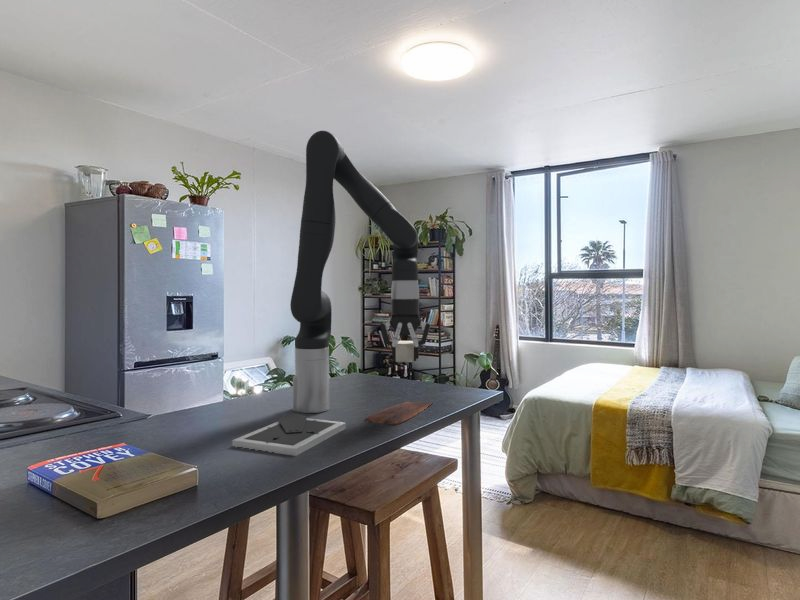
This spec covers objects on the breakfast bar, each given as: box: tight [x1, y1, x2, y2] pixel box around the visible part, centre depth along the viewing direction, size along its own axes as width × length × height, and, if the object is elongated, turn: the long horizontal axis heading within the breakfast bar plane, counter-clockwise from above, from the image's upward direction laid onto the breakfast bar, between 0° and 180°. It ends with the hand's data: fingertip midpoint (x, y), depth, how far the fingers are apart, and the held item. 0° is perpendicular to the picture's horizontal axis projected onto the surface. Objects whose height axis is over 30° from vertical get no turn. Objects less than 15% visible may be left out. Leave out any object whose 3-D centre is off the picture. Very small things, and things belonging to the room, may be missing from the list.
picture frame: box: [232, 413, 347, 457], centre depth 109 cm, size 16×3×21 cm
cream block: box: [395, 340, 415, 363], centre depth 133 cm, size 5×5×10 cm
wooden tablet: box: [364, 401, 433, 426], centre depth 132 cm, size 26×2×10 cm
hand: (405, 360), depth 132 cm, fingers closed on cream block, 4 cm apart
